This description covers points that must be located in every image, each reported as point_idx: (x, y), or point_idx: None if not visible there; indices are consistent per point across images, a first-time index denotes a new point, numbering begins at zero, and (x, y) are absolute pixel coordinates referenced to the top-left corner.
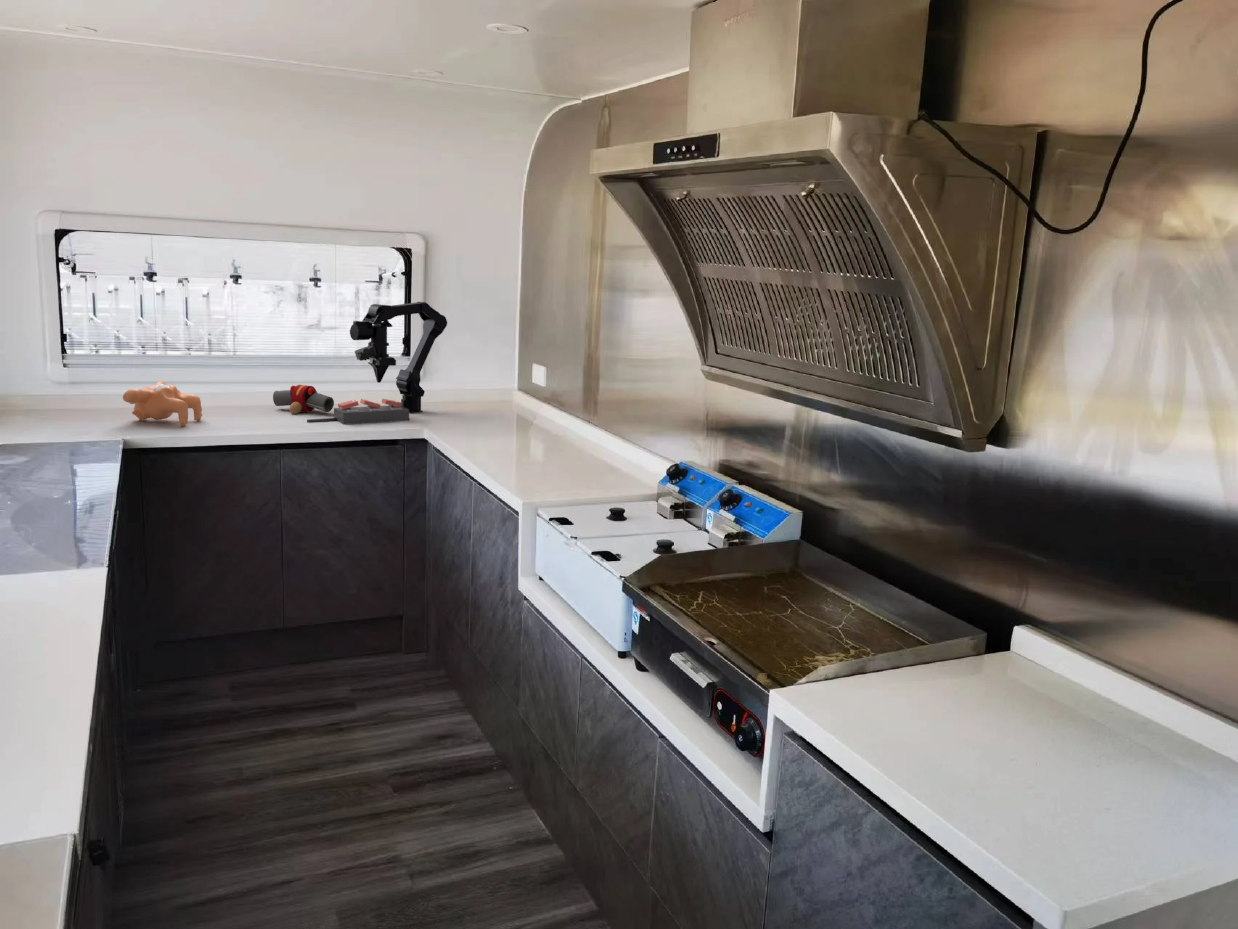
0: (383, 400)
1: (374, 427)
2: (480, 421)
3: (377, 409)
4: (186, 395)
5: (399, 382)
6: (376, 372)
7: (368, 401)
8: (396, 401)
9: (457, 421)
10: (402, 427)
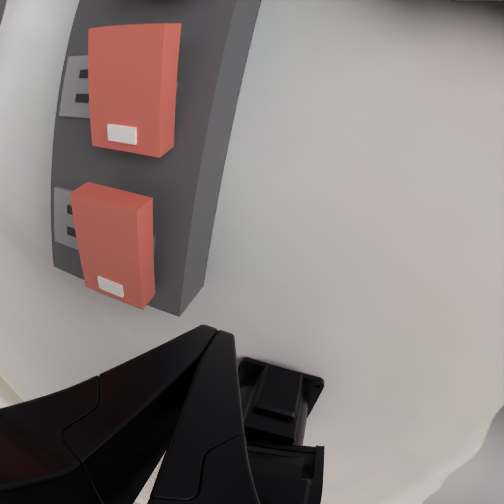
0: (116, 199)
1: (36, 43)
2: (53, 392)
3: (71, 99)
4: None
5: (260, 489)
6: (103, 401)
7: (92, 57)
8: (110, 281)
9: (55, 358)
10: (6, 142)
